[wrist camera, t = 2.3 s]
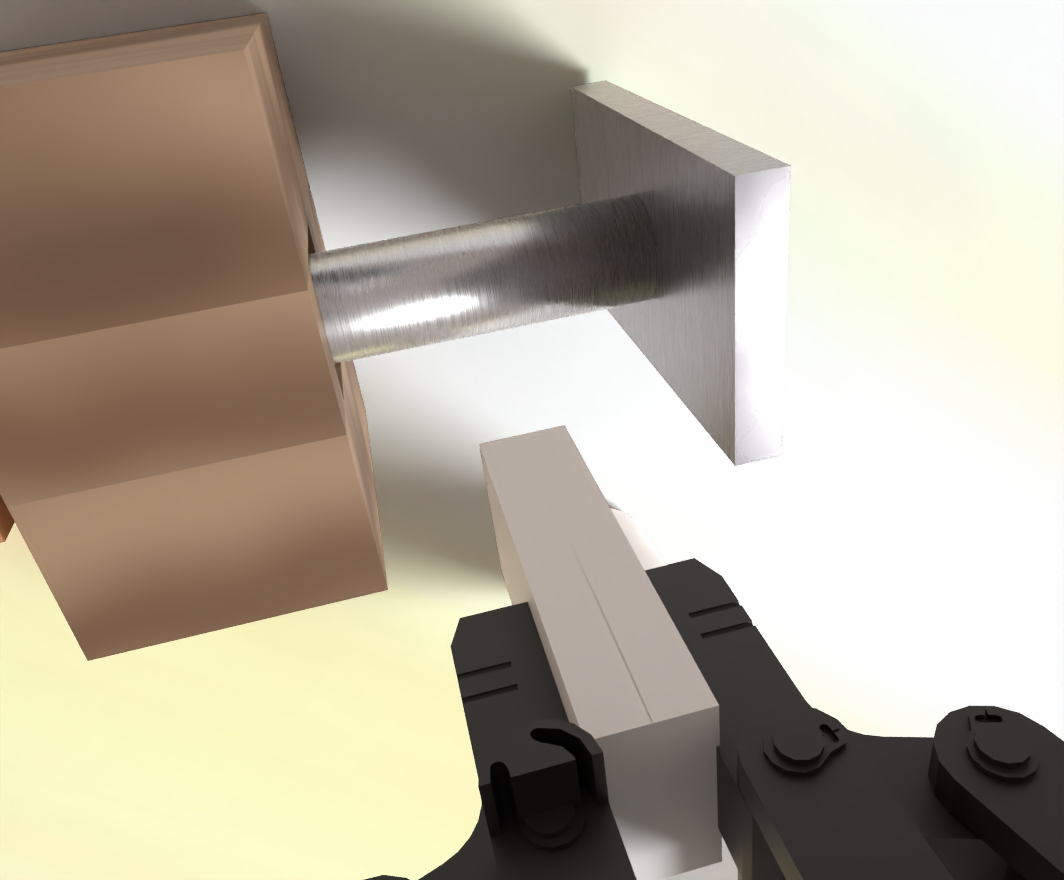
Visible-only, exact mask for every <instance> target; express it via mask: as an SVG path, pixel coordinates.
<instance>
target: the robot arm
mask: <svg viewBox="0 0 1064 880" xmlns="http://www.w3.org/2000/svg"><path fill="white" fill-rule="evenodd" d="M479 447H480V452H481V458H482V463H483V469H484V475H485V480H486V486H487V492H488V497H489V503H490V508H491V514H492V520H493V525H494V531H495V537H496V542H497V548H498V553H499V559H500V565H501V570H502V573H503V577H504V580H505V583H506V586H507V589H508V592H509V595H510V598H511V602H512V606H508V607H504V608H500V609H496V610H492V611H487V612H483V613H479V614H475V615H471V616H467V617H463V618H460V620H459V623H458V626H457V629H456V632H455V635H454V638H453V641H452V644H451V650H452V655H453V659H454V664H455V669H456V674H457V678H458V683H459V688H460V693H461V697H462V702H463V707H464V712H465V716H466V721H467V726H468V731H469V735H470V740H471V745H472V750H473V754H474V759H475V764H476V769H477V773H478V778H479V791H480V795H481V799H482V807H481V811H480V816H479V820H478V823H477V825H476V827H475V829H474V831H473V833H472V835H471V837H470V838H469V839H468V841H467V842H466V843H465V844H464V845H463V847H462V848H461V849H460V850H459V852H457V853H456V854H455V855H454V856H452V857H451V858H450V859H449V860H447V861H446V862H445V863H444V864H442V865H441V866H439V867H438V868H436V869H434V870H433V871H431V872H430V873H428V874H427V875H425V876H424V877H422V878H420V879H419V880H661V879H665V878H668V877H671V876H675V875H678V874H681V873H685V872H688V871H692V870H695V869H698V868H702V867H705V866H708V865H712V864H715V863H719V862H722V837H723V839H724V841H725V843H726V845H727V848H728V850H729V852H730V854H731V856H732V858H733V860H734V862H735V864H736V867H737V869H738V880H1064V741H1062V740H1061V739H1060V738H1058V737H1057V736H1056V735H1054V734H1053V733H1052V732H1050V731H1049V730H1048V729H1046V728H1045V727H1043V726H1042V725H1040V724H1038V723H1036V722H1035V721H1033V720H1031V719H1029V718H1027V717H1026V716H1024V715H1022V714H1020V713H1017V712H1013V711H1010V710H1006V709H1003V708H999V707H995V706H968V707H965V708H962V709H958V710H955V711H952V712H950V713H949V714H948V715H947V716H945V717H944V718H943V719H942V720H941V721H940V722H939V723H938V724H937V727H936V731H935V736H934V738H927V737H880V736H871V735H863V734H860V733H856V732H853V731H849V730H847V729H846V728H845V727H844V726H843V725H842V724H841V723H840V722H839V721H838V720H837V719H835V718H833V717H831V716H829V715H828V714H826V713H824V712H822V711H820V710H818V709H815V708H812V707H811V706H810V705H809V704H808V703H807V702H806V700H805V699H804V698H803V696H802V695H801V693H800V692H799V690H798V689H797V687H796V686H795V684H794V683H793V682H792V680H791V679H790V677H789V676H788V674H787V673H786V671H785V670H784V668H783V667H782V665H781V664H780V662H779V661H778V659H777V658H776V656H775V655H774V653H773V652H772V650H771V649H770V647H769V646H768V644H767V643H766V641H765V640H764V638H763V637H762V635H761V634H760V632H759V631H758V629H757V628H756V626H753V625H752V620H751V619H750V617H749V616H748V614H747V613H746V612H745V610H744V609H743V607H742V606H740V605H739V603H738V600H737V598H736V597H735V595H734V594H733V592H732V591H731V589H730V588H729V586H728V585H727V583H726V582H725V580H724V579H723V577H722V576H721V575H719V574H718V573H716V572H715V571H713V570H711V569H710V568H708V567H707V566H705V565H704V564H702V563H701V562H699V561H698V560H696V559H695V558H693V559H689V560H685V561H681V562H677V563H673V564H669V565H665V566H661V567H657V568H653V569H649V570H644V568H643V567H642V565H641V563H640V561H639V559H638V558H637V556H636V554H635V552H634V550H633V548H632V547H631V545H630V543H629V541H628V539H627V538H626V536H625V534H624V532H623V530H622V529H621V527H620V525H619V523H618V521H617V520H616V518H615V516H614V514H613V512H612V510H611V509H610V507H609V505H608V503H607V501H606V500H605V498H604V496H603V494H602V492H601V491H600V489H599V487H598V485H597V483H596V481H595V480H594V478H593V476H592V474H591V472H590V471H589V469H588V467H587V465H586V463H585V462H584V460H583V458H582V456H581V454H580V452H579V451H578V449H577V447H576V445H575V443H574V442H573V440H572V438H571V436H570V434H569V433H568V431H567V429H566V427H565V425H563V426H559V427H554V428H550V429H545V430H541V431H536V432H532V433H527V434H523V435H518V436H514V437H509V438H504V439H500V440H495V441H491V442H486V443H482V444H479ZM365 880H409V879H407V878H402V877H395V876H387V875H381V876H377V877H373V878H369V879H365Z"/></svg>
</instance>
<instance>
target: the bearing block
mask: <svg viewBox="0 0 1064 880" xmlns="http://www.w3.org/2000/svg"><path fill="white" fill-rule="evenodd" d="M323 251H325V247H324V243H323V239H322V235H321V231H320V227H319V223H318V219H317V215H316V211H315V207H314V203H313V199H312V195H311V191H310V187H309V183H308V178H307V174H306V170H305V166H304V162H303V158H302V154H301V150H300V146H299V142H298V138H297V134H296V130H295V126H294V122H293V118H292V114H291V110H290V106H289V102H288V98H287V94H286V90H285V86H284V82H283V78H282V74H281V70H280V66H279V62H278V58H277V54H276V50H275V46H274V42H273V38H272V34H271V30H270V26H269V22H268V18H267V14H266V13H259V14H252V15H246V16H239V17H232V18H226V19H219V20H212V21H205V22H199V23H192V24H185V25H179V26H172V27H165V28H158V29H152V30H145V31H138V32H132V33H125V34H118V35H111V36H105V37H98V38H91V39H85V40H78V41H71V42H64V43H58V44H51V45H44V46H38V47H31V48H24V49H17V50H11V51H4V52H0V494H1V496H2V498H3V500H4V502H5V504H6V506H7V508H8V510H9V512H10V513H11V515H12V517H13V519H14V521H15V523H16V525H17V527H18V529H19V531H20V533H21V534H22V536H23V538H24V540H25V542H26V544H27V546H28V548H29V550H30V552H31V554H32V555H33V557H34V559H35V561H36V563H37V565H38V567H39V569H40V571H41V573H42V574H43V576H44V578H45V580H46V582H47V584H48V586H49V588H50V590H51V592H52V594H53V595H54V597H55V599H56V601H57V603H58V605H59V607H60V609H61V611H62V613H63V614H64V616H65V618H66V620H67V622H68V624H69V626H70V628H71V630H72V632H73V634H74V635H75V637H76V639H77V641H78V643H79V645H80V647H81V649H82V651H83V653H84V655H85V656H86V658H87V660H88V661H89V660H93V659H98V658H102V657H106V656H110V655H114V654H119V653H123V652H127V651H131V650H136V649H140V648H144V647H148V646H152V645H157V644H161V643H165V642H169V641H174V640H178V639H182V638H186V637H190V636H195V635H199V634H203V633H207V632H212V631H216V630H220V629H224V628H229V627H233V626H237V625H241V624H245V623H250V622H254V621H258V620H262V619H267V618H271V617H275V616H279V615H283V614H288V613H292V612H296V611H300V610H305V609H309V608H313V607H317V606H321V605H326V604H330V603H334V602H338V601H343V600H347V599H351V598H355V597H359V596H364V595H368V594H372V593H376V592H381V591H385V590H388V587H387V579H386V571H385V563H384V555H383V547H382V539H381V531H380V523H379V515H378V507H377V499H376V491H375V483H374V475H373V467H372V459H371V451H370V443H369V435H368V427H367V419H366V411H365V407H364V403H363V399H362V395H361V391H360V387H359V383H358V379H357V375H356V371H355V367H354V363H353V360H350V361H345V362H340V363H336V364H334V361H333V357H332V354H331V350H330V346H329V342H328V338H327V334H326V331H325V327H324V323H323V319H322V315H321V312H320V308H319V304H318V300H317V296H316V292H315V289H314V285H313V281H312V277H311V273H310V270H309V266H308V254H312V253H317V252H323Z"/></svg>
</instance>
